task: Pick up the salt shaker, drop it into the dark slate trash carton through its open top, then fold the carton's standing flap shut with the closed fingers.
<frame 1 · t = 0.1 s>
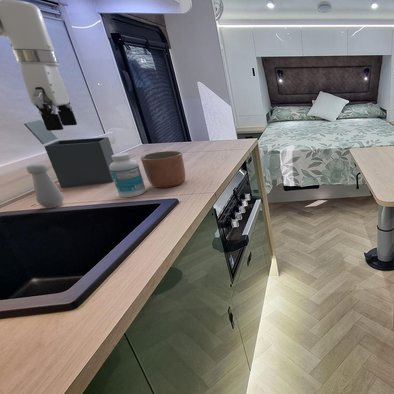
hand: (63, 127, 80), 23 cm above the worktop, tool pointing down, fingers open, 9 cm apart
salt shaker: (54, 206, 88), on the worktop
planter: (169, 184, 106), on the worktop
pill bottle: (133, 194, 97), on the worktop
flap: (41, 131, 100), point 19 cm above the worktop, hinge at 110.0°
carton: (92, 180, 110), on the worktop
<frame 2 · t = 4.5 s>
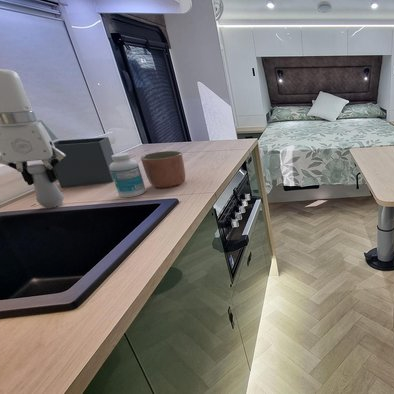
hand: (43, 181, 85), 8 cm above the worktop, tool pointing down, fingers closed on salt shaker, 4 cm apart
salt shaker: (54, 206, 88), on the worktop, touching gripper
everything else where it was.
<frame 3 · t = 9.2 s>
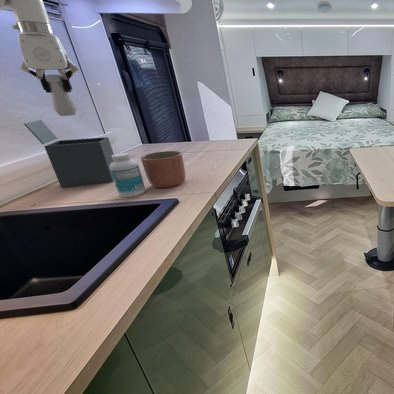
hand: (59, 91, 98), 32 cm above the worktop, tool pointing down, fingers closed on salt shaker, 4 cm apart
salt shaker: (68, 115, 101), point 24 cm above the worktop, touching gripper
everything else where it was.
when the fingers open (11 cm above the worktop, at t = 14.3 s): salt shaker drops 3 cm, resting on carton.
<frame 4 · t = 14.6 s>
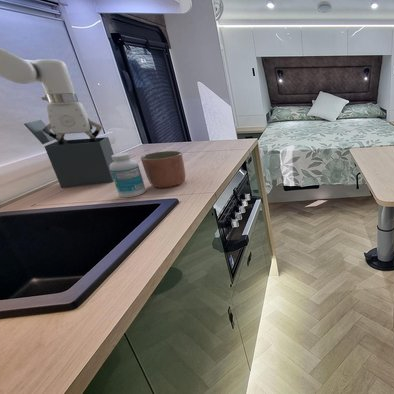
hand: (81, 149, 106), 12 cm above the worktop, tool pointing down, fingers open, 7 cm apart
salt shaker: (91, 179, 110), resting on carton
everything else where it was.
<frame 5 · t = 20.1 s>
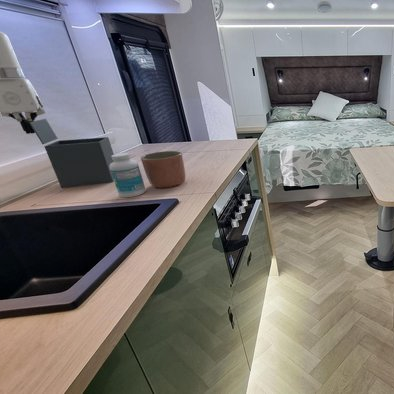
hand: (31, 132, 99), 19 cm above the worktop, tool pointing down, fingers closed
flap: (44, 131, 100), point 19 cm above the worktop, hinge at 99.1°
everything else where it was.
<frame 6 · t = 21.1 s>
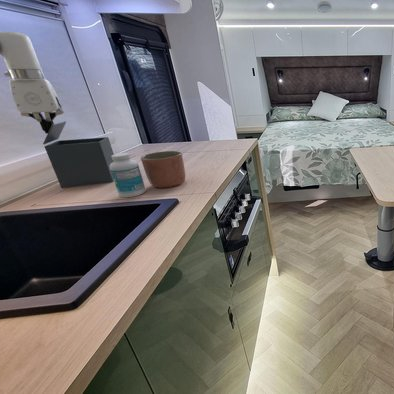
hand: (50, 132, 101), 19 cm above the worktop, tool pointing down, fingers closed
flap: (55, 132, 101), point 19 cm above the worktop, hinge at 55.3°, touching gripper
everything else where it was.
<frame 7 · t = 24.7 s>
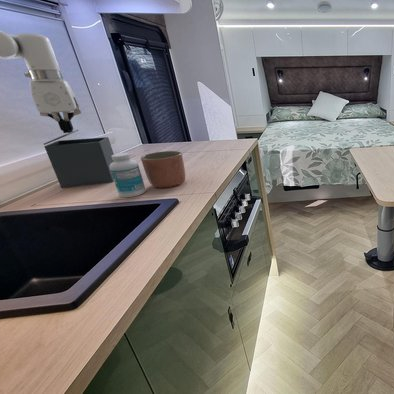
hand: (68, 132, 103), 18 cm above the worktop, tool pointing down, fingers closed
flap: (62, 136, 102), point 17 cm above the worktop, hinge at 21.6°, touching gripper
everything else where it was.
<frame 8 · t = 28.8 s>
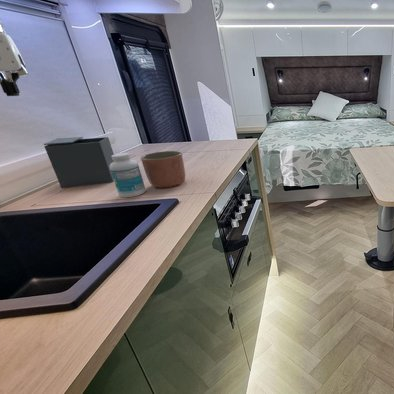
hand: (13, 95, 91), 31 cm above the worktop, tool pointing down, fingers closed
flap: (64, 140, 103), point 16 cm above the worktop, hinge at -0.3°
everything else where it was.
at the end: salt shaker inside the target area in the carton (0.3 cm from its centre), point 0.3 cm above the carton's base; flap at +0° (first picture: +110°) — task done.
